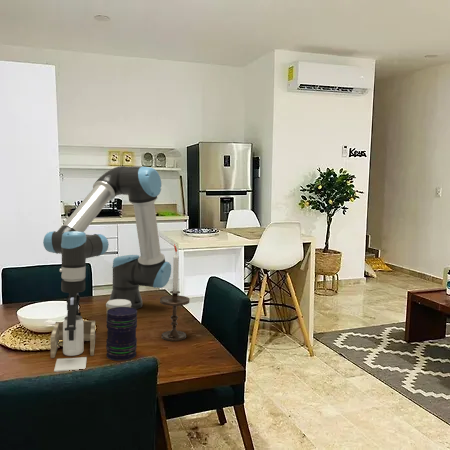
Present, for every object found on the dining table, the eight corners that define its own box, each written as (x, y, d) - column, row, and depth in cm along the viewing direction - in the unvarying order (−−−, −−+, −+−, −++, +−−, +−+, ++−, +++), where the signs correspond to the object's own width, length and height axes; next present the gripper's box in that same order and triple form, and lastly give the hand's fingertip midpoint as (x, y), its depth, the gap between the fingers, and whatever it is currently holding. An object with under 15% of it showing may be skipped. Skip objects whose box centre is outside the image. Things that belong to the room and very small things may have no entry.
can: (67, 348, 155) (67, 314, 153) (86, 349, 155) (86, 315, 153) (59, 356, 148) (59, 320, 147) (79, 357, 148) (79, 321, 147)
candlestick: (159, 342, 164) (161, 245, 160) (159, 332, 174) (161, 241, 171) (189, 341, 165) (192, 246, 162) (187, 331, 176) (190, 242, 172)
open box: (55, 341, 161) (55, 322, 160) (95, 339, 164) (95, 320, 164) (50, 358, 146) (50, 336, 146) (93, 355, 150) (94, 334, 149)
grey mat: (57, 360, 145) (57, 358, 145) (86, 358, 147) (86, 357, 147) (54, 371, 136) (54, 370, 136) (85, 369, 139) (85, 368, 139)
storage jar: (141, 351, 155) (142, 308, 153) (129, 362, 145) (129, 316, 144) (114, 347, 157) (115, 305, 155) (100, 358, 147) (100, 313, 146)
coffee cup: (124, 338, 166) (125, 306, 165) (101, 336, 168) (101, 304, 167) (134, 330, 175) (135, 300, 174) (112, 328, 177) (112, 297, 176)
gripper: (64, 271, 160) (64, 330, 162) (57, 288, 136) (56, 357, 138) (87, 271, 162) (86, 329, 164) (83, 287, 138) (82, 355, 140)
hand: (72, 342), depth 151 cm, fingers open, 13 cm apart
